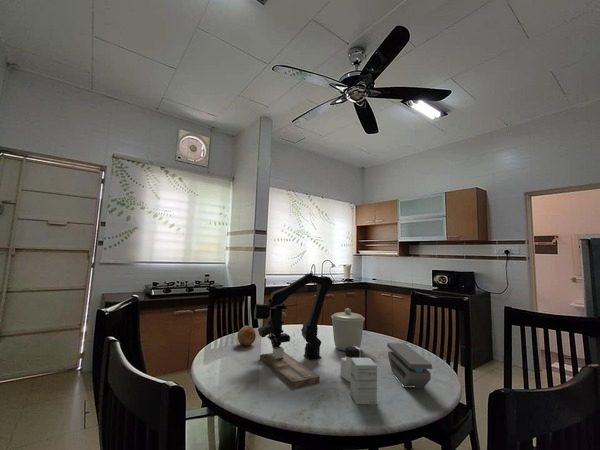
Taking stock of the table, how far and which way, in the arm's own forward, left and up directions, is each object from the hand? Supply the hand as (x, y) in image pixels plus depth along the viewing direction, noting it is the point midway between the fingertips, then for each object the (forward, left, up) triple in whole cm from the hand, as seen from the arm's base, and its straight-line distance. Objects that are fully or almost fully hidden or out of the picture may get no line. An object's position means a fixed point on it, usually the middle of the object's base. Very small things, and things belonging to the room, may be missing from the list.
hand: (274, 353), depth 132 cm
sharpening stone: (-39, +43, -3) cm, 58 cm away
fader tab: (0, +4, -1) cm, 4 cm away
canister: (-42, +2, -3) cm, 42 cm away
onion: (+5, -25, -3) cm, 26 cm away
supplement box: (-12, +47, -3) cm, 48 cm away
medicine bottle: (-20, +32, -3) cm, 37 cm away
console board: (0, +13, -3) cm, 13 cm away
